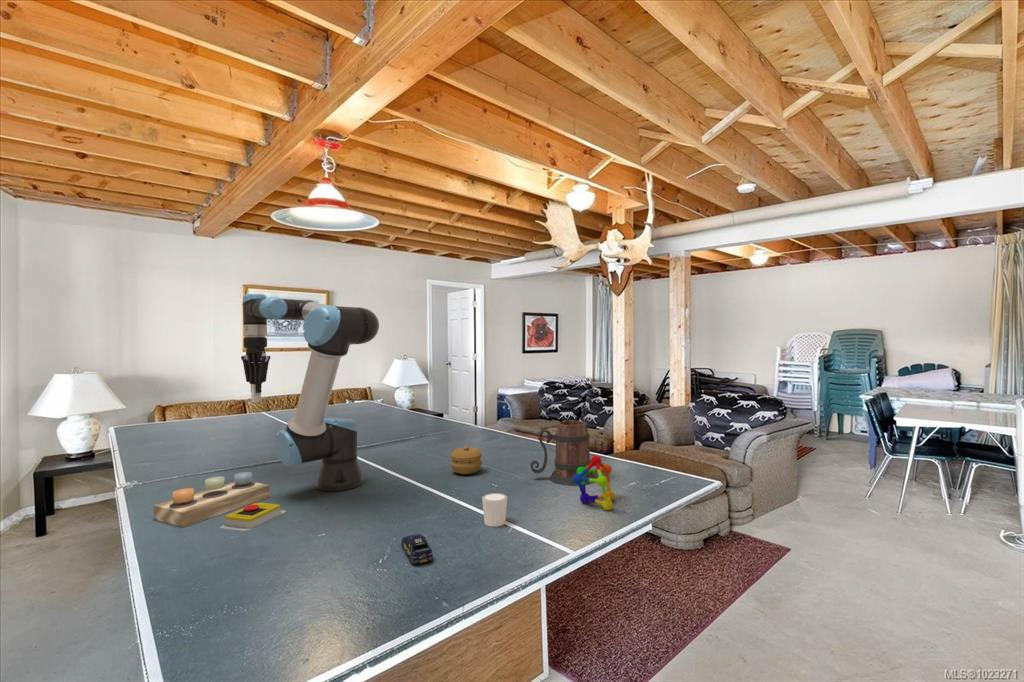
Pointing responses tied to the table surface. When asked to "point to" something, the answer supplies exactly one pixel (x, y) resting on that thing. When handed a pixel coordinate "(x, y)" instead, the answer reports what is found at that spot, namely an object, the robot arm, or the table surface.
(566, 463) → the tankard
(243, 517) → the emergency button
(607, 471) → the educational toy
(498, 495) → the cream cylinder
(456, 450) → the pot
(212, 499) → the button panel
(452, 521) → the table surface
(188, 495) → the terracotta button
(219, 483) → the sage button
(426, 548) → the race car
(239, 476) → the slate button
